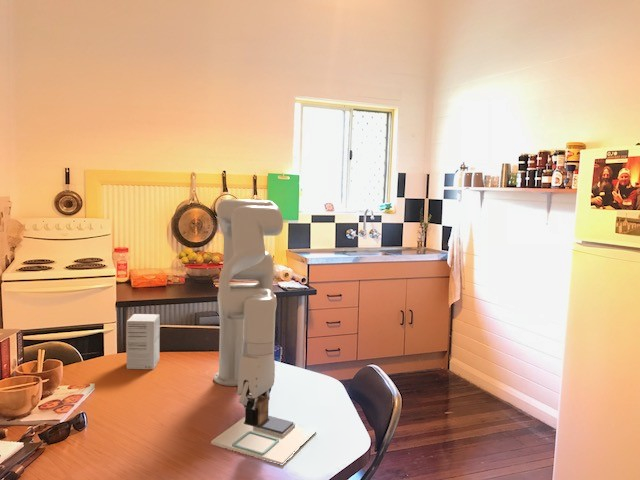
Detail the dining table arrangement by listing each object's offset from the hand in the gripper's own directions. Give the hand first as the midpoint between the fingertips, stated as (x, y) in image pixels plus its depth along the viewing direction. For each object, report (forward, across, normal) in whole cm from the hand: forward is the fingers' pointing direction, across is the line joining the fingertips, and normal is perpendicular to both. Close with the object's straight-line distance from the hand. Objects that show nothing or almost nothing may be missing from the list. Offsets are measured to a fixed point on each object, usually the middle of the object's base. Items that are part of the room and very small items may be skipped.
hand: (256, 419), depth 122 cm
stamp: (+1, 0, 0) cm, 1 cm away
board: (+7, -5, 0) cm, 8 cm away
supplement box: (+7, -28, -63) cm, 69 cm away
